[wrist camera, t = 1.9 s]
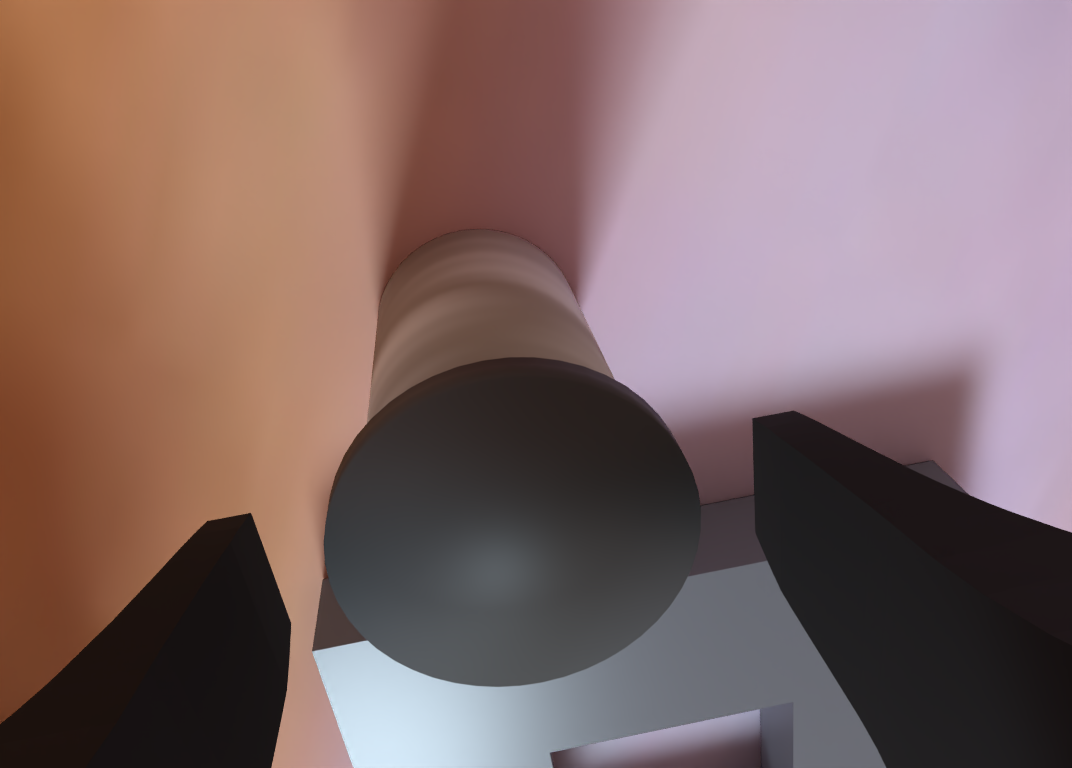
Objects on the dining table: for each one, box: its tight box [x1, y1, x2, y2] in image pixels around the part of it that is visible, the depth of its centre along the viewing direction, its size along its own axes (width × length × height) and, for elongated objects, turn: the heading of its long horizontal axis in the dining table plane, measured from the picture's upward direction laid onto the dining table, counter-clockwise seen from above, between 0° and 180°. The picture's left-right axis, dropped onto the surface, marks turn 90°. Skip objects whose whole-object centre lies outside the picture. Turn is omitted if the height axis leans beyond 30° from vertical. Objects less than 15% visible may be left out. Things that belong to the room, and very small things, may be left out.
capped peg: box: [324, 229, 701, 687], centre depth 15 cm, size 5×5×8 cm
